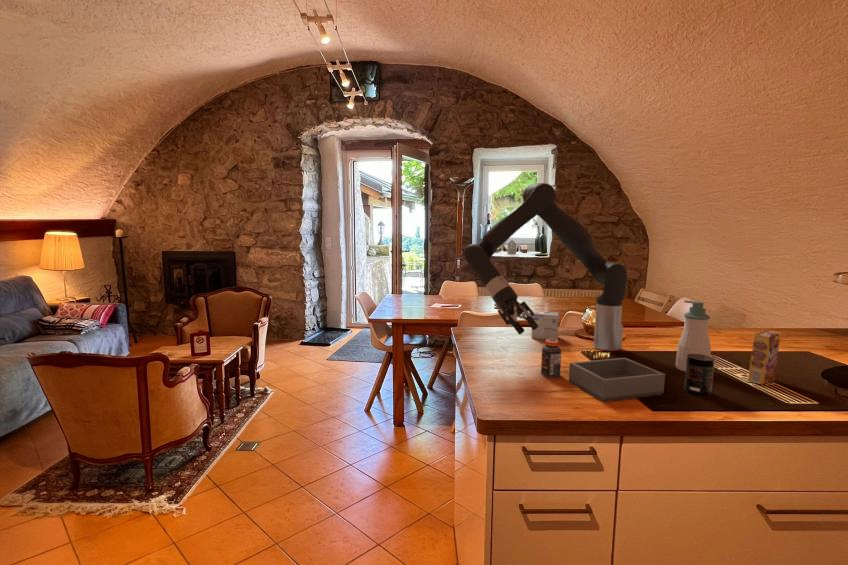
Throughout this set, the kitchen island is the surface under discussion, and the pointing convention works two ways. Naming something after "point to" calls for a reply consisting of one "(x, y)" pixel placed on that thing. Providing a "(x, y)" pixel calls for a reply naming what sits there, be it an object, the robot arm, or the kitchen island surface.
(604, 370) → the tote
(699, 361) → the supplement container
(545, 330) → the light bulb box
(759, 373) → the candy box
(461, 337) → the kitchen island surface
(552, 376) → the pill bottle
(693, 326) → the soap bottle
